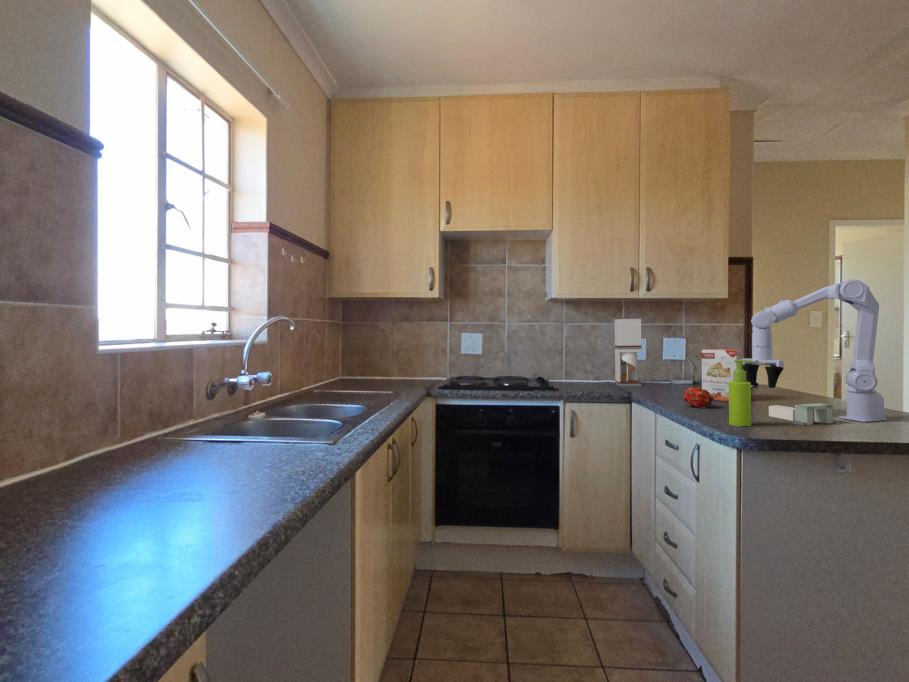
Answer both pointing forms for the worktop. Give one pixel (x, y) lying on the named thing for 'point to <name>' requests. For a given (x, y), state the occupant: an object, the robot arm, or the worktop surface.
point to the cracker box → (719, 371)
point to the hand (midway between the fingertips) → (762, 386)
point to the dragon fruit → (697, 397)
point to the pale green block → (806, 414)
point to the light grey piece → (627, 351)
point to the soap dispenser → (740, 397)
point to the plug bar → (782, 412)
